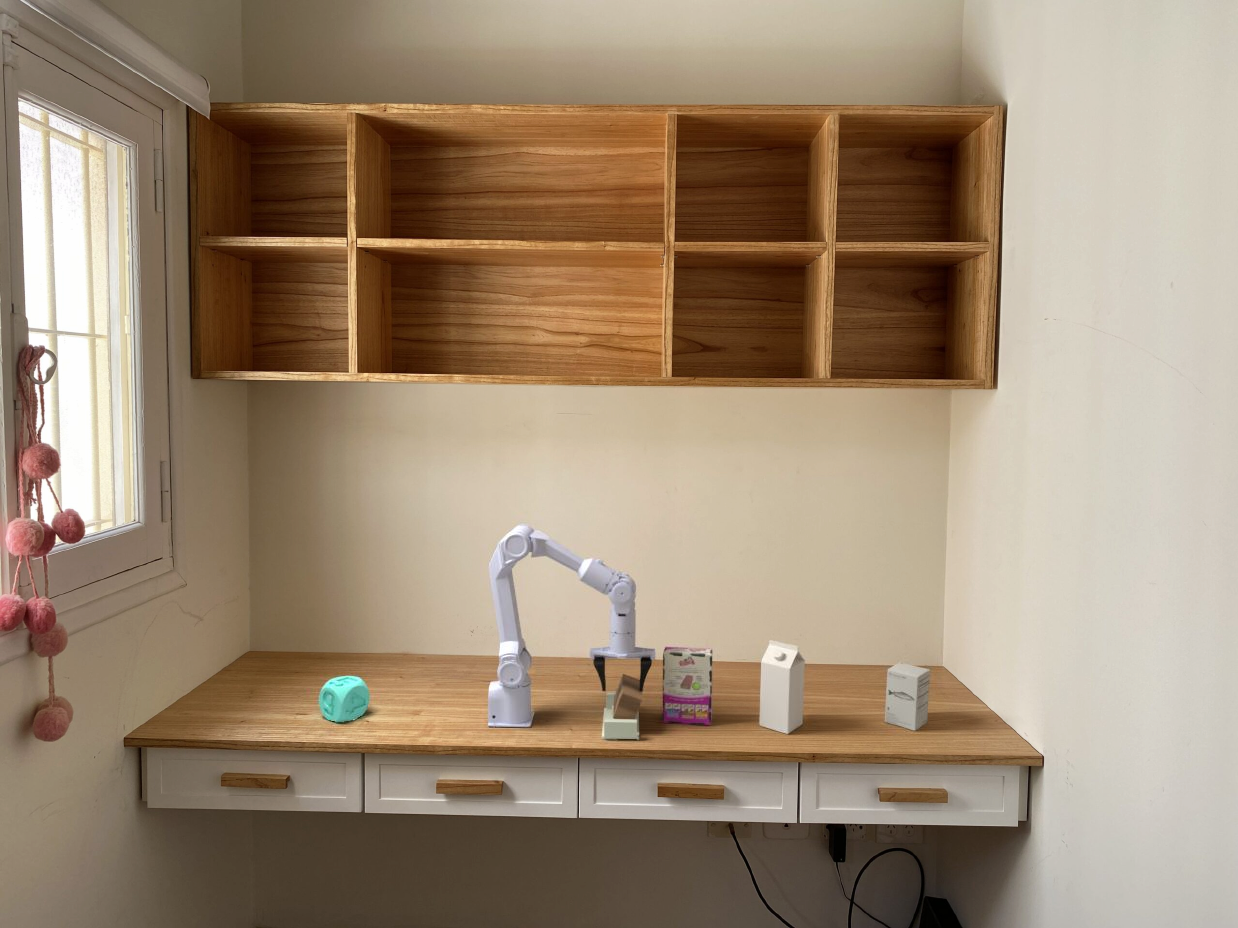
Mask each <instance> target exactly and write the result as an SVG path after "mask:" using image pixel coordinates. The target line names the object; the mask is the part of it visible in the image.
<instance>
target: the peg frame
mask: <svg viewBox="0 0 1238 928" xmlns="http://www.w3.org/2000/svg"><path fill="white" fill-rule="evenodd" d="M615 694H616V691H613V692H612V691H607V692H606V698H605V700H606V701H605V703H606V704H605V705H606V706H604V708H603V718H602V728H601V729H602V732H601V740H617V739H637V740H636V741H639V740H640V720H639V719H640V717H639V710H640V708H639V709H638V712H637V715H636V717H635V719H613V709H614V696H615Z"/></svg>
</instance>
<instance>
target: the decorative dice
mask: <svg viewBox="0 0 1238 928" xmlns="http://www.w3.org/2000/svg"><path fill="white" fill-rule="evenodd" d="M370 695H371V694H370V690H369V687H368V685H367V684H366V682H365V681H364V680H363V679H362V678H361V677H359V676H354V675H345V676H338V677H334V678H331V679H329V680H328V681H326V682H325V683H324V685H323V686H322V688H321V689H320V692H319V695H318V705H319V710H320V712H321V713H322V716H323V717H324V718H325V719H326V720H328V721H329V720H331V721H335V722H334V723H338V722H342V723H344V722H343V721H349V722H351V721H350V720H353V719H356V718H358V717H360V716H361V717H362V716H363V715H364V714H365V712H366V711H367V709H368V707H369V705H370V700H371V699H370ZM361 717H360V718H361ZM358 719H359V718H358ZM356 720H357V719H356ZM331 721H330V722H331ZM353 721H354V720H353Z"/></svg>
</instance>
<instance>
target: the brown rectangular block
mask: <svg viewBox="0 0 1238 928" xmlns="http://www.w3.org/2000/svg"><path fill="white" fill-rule="evenodd" d="M615 692H616V694H615V696H614V709H613V719H635V717H636V715H637V712H638V709H639V710H640V707H641V704H642V701H643V693H642V692H641V691H640V678H636V677H633V676H631V675H627V674H624V673H623V674H622V675H621V678H620V681H619V684H618V686H617V688H616V691H615Z"/></svg>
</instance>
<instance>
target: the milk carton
mask: <svg viewBox="0 0 1238 928" xmlns="http://www.w3.org/2000/svg"><path fill="white" fill-rule="evenodd" d="M805 664H806V660H805V659H804V657H803V655H801V653H800V651H799V646H798V645H794V644H789V643H785V642H781V641H776V640H772V639H769V642H768V646H767V648H766V650H765V652H764V654H763V656H762V659H761V664H760V690H759V691H760V693H759V694H760V695H759V696H760V697H759V698H760V699H759V726H760V727H763V728H767V729H770V730H773V731H776V732H780V733H783V734H787V735H788V734H790V733H791V732H793V731H794V730H796V729H797V728H799V727H800V726H802V725H803V722H804V721H803V717H804V694H805V690H804V689H805V667H806V666H805Z"/></svg>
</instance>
